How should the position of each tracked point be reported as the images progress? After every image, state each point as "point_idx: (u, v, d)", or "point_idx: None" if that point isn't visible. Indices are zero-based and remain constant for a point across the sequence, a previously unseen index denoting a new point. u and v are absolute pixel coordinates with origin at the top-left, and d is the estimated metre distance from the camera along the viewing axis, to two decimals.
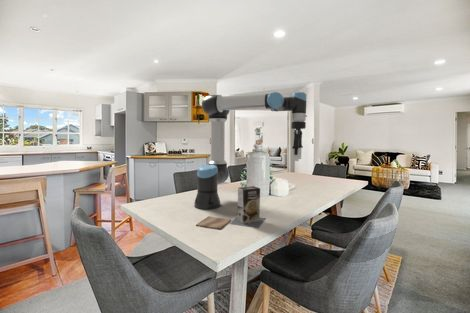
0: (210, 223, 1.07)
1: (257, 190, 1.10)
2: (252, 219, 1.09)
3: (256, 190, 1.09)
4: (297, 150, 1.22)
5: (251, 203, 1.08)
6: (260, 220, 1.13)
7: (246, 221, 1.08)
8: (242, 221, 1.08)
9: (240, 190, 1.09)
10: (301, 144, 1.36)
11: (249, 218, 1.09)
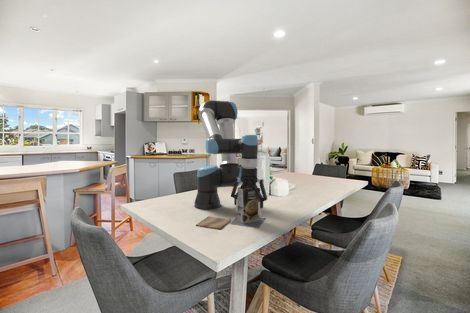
0: (210, 223, 1.07)
1: None
2: (252, 219, 1.09)
3: None
4: (235, 200, 1.13)
5: (251, 203, 1.08)
6: (260, 220, 1.13)
7: (246, 221, 1.08)
8: (242, 221, 1.08)
9: (240, 190, 1.09)
10: (263, 197, 1.07)
11: (249, 218, 1.09)
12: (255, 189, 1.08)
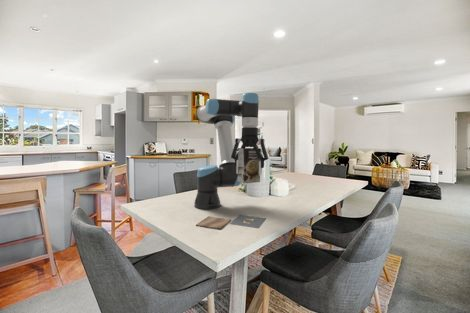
0: (210, 223, 1.07)
1: None
2: (252, 179, 1.08)
3: None
4: (235, 161, 1.12)
5: (252, 162, 1.07)
6: (260, 220, 1.13)
7: (247, 181, 1.07)
8: (242, 181, 1.07)
9: (240, 150, 1.08)
10: None
11: (249, 178, 1.07)
12: (256, 149, 1.07)
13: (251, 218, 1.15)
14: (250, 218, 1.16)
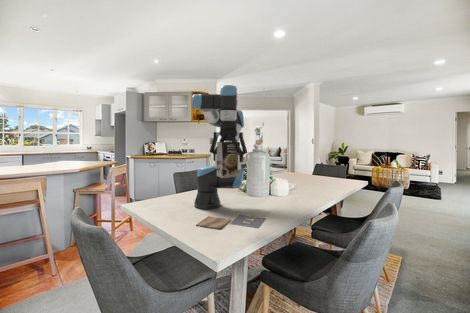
0: (210, 223, 1.07)
1: None
2: (231, 174, 1.06)
3: None
4: (214, 156, 1.09)
5: (230, 156, 1.05)
6: (260, 220, 1.13)
7: (225, 175, 1.04)
8: (221, 175, 1.04)
9: (219, 144, 1.05)
10: None
11: (228, 172, 1.05)
12: (234, 142, 1.05)
13: (251, 218, 1.15)
14: (250, 218, 1.16)
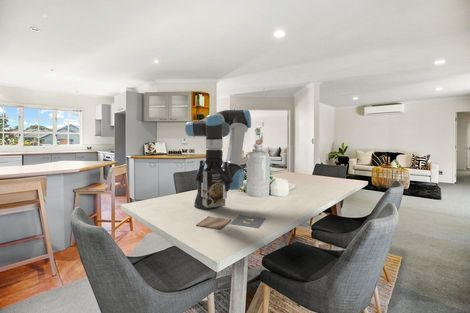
0: (210, 223, 1.07)
1: None
2: (216, 203, 1.05)
3: None
4: (201, 184, 1.09)
5: (215, 186, 1.04)
6: (260, 220, 1.13)
7: (210, 205, 1.04)
8: (206, 205, 1.04)
9: (204, 173, 1.05)
10: (227, 180, 1.03)
11: (213, 202, 1.04)
12: (220, 172, 1.04)
13: (251, 218, 1.15)
14: (250, 218, 1.16)
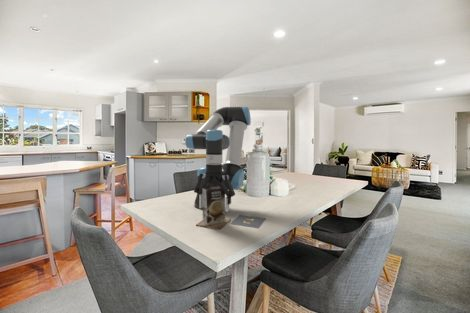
0: None
1: (221, 190, 1.06)
2: (216, 220, 1.06)
3: (220, 190, 1.06)
4: (198, 196, 1.10)
5: (215, 203, 1.05)
6: (260, 220, 1.13)
7: (210, 222, 1.05)
8: (206, 222, 1.05)
9: (204, 190, 1.06)
10: (230, 193, 1.03)
11: (213, 219, 1.05)
12: (221, 185, 1.05)
13: (251, 218, 1.15)
14: (250, 218, 1.16)
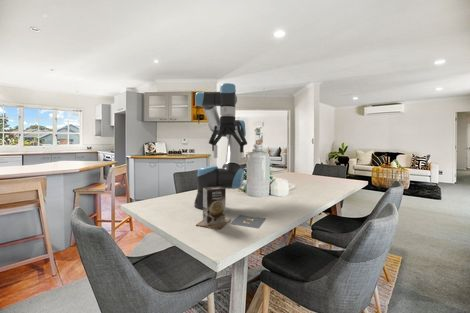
0: None
1: (222, 190, 1.06)
2: (217, 220, 1.06)
3: (221, 190, 1.06)
4: (213, 146, 1.19)
5: (215, 203, 1.05)
6: (260, 220, 1.13)
7: (210, 222, 1.05)
8: (206, 222, 1.05)
9: (204, 190, 1.06)
10: (242, 142, 1.12)
11: (213, 219, 1.05)
12: (234, 135, 1.14)
13: (251, 218, 1.15)
14: (250, 218, 1.16)
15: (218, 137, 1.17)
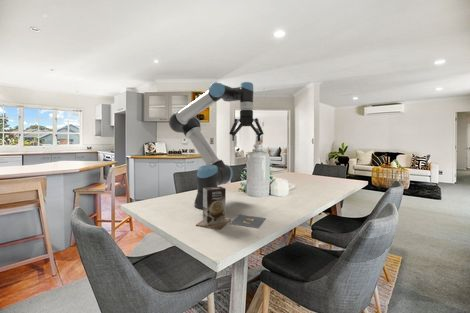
0: None
1: (222, 190, 1.06)
2: (217, 220, 1.06)
3: (221, 190, 1.06)
4: (233, 137, 1.38)
5: (215, 203, 1.05)
6: (260, 220, 1.13)
7: (210, 222, 1.05)
8: (206, 222, 1.05)
9: (204, 190, 1.06)
10: None
11: (213, 219, 1.05)
12: (252, 126, 1.33)
13: (251, 218, 1.15)
14: (250, 218, 1.16)
15: (238, 128, 1.36)
